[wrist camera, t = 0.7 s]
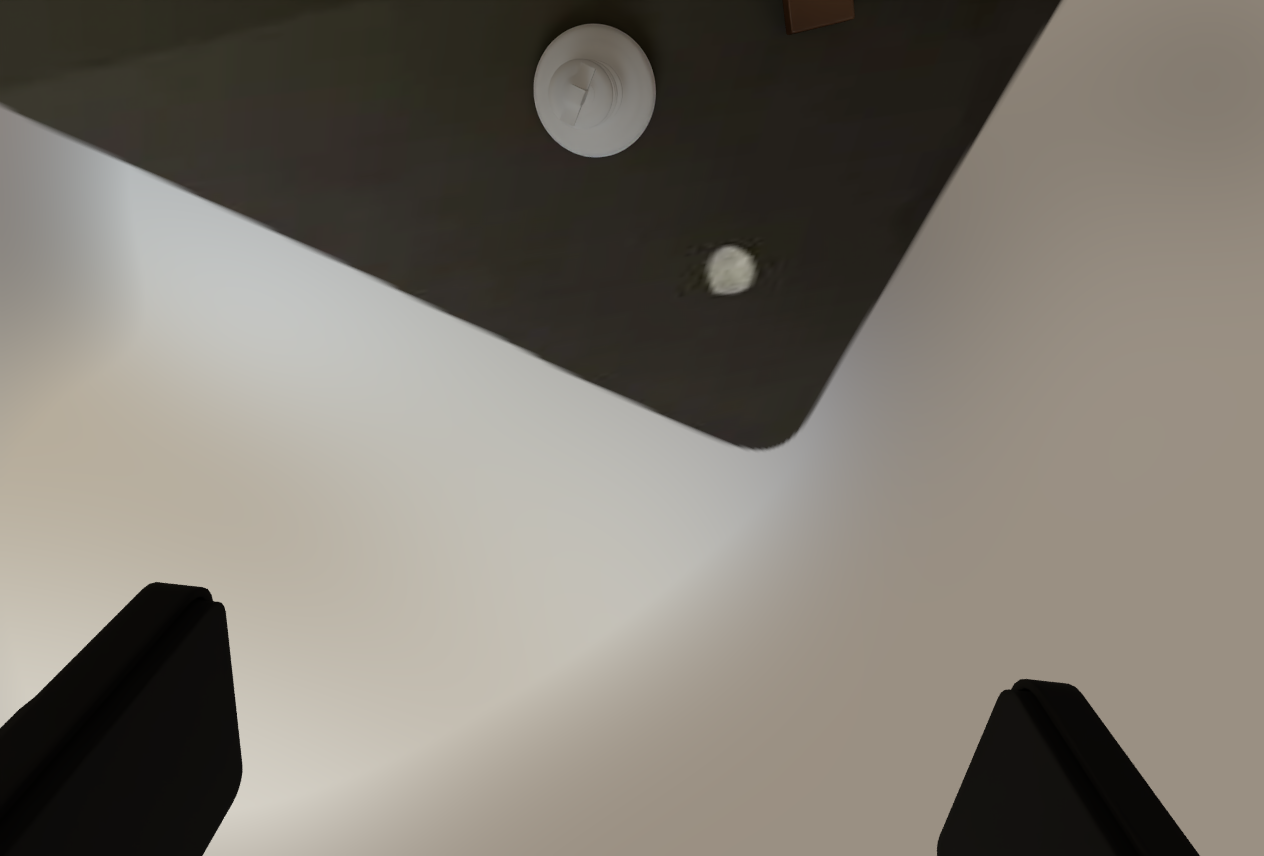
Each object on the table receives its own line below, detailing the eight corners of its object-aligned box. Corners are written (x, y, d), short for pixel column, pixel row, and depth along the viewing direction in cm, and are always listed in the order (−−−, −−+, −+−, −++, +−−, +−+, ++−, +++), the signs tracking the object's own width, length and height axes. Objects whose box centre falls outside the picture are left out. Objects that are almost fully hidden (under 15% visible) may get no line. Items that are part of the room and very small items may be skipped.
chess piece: (675, 57, 30) (690, 45, 21) (626, 176, 32) (620, 212, 23) (560, 1, 30) (524, -38, 20) (516, 126, 31) (465, 142, 22)
